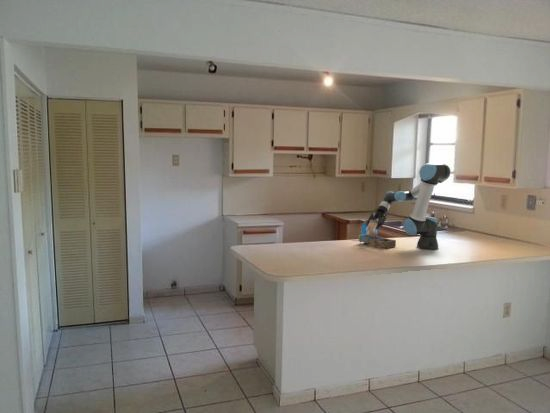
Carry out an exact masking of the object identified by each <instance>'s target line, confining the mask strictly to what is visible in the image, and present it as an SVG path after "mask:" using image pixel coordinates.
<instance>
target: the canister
mask: <svg viewBox="0 0 550 413" xmlns="http://www.w3.org/2000/svg"><path fill="white" fill-rule="evenodd" d="M377 223H378V219H376V220H370V225H369V236H371V237H376V233H377V230H376V232H375V233H373V229H374V227H375V225H376V224H377ZM377 225H378V224H377Z"/></svg>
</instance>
